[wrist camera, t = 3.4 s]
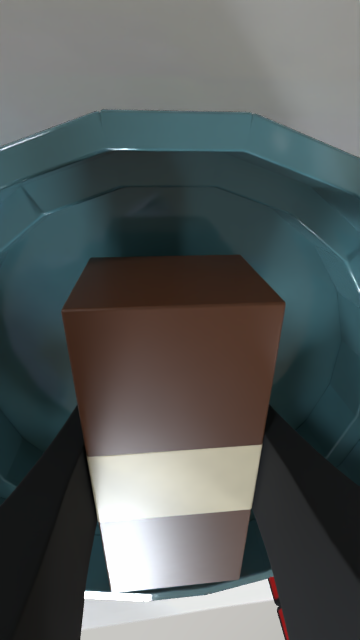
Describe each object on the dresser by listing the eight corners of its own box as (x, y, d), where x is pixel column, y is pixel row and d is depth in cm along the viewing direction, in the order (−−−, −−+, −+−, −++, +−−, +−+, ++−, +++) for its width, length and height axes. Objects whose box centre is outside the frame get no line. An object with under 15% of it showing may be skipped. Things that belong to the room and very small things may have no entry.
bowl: (6, 505, 16) (-41, 621, 12) (-138, 124, 9) (-380, 99, 5) (319, 480, 17) (371, 578, 13) (426, 132, 10) (612, 118, 6)
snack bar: (219, 486, 14) (240, 580, 11) (118, 494, 13) (110, 594, 10) (241, 253, 9) (288, 302, 6) (89, 256, 9) (59, 309, 6)
